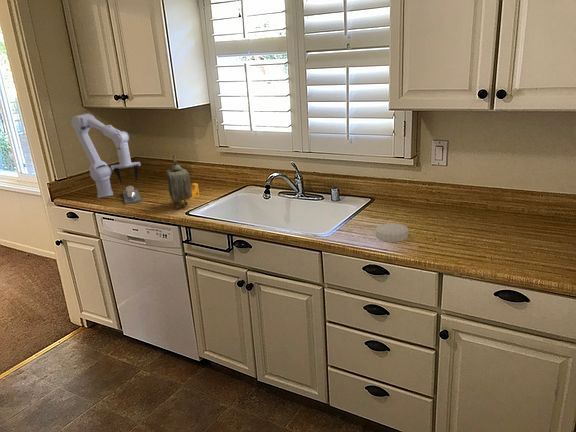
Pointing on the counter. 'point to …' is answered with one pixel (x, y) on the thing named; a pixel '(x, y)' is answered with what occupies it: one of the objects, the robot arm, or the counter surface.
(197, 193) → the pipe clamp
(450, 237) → the counter surface
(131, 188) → the ball knob lever
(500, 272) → the counter surface
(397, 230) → the mooncake
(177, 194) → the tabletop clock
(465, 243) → the counter surface
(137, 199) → the grey metal plate
